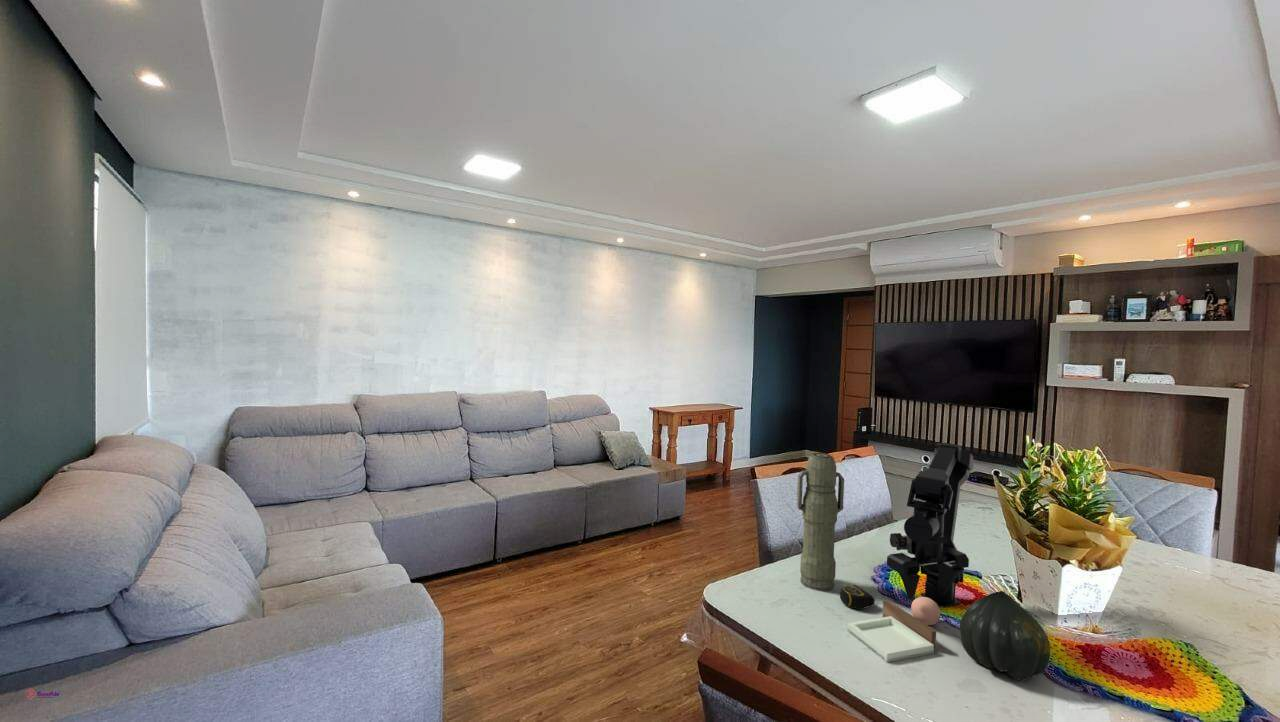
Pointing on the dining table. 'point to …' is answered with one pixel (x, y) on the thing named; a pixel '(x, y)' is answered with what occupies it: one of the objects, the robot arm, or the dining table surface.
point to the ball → (925, 610)
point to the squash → (1004, 636)
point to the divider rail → (909, 621)
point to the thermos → (819, 520)
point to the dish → (890, 638)
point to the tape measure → (856, 597)
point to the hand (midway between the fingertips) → (926, 596)
